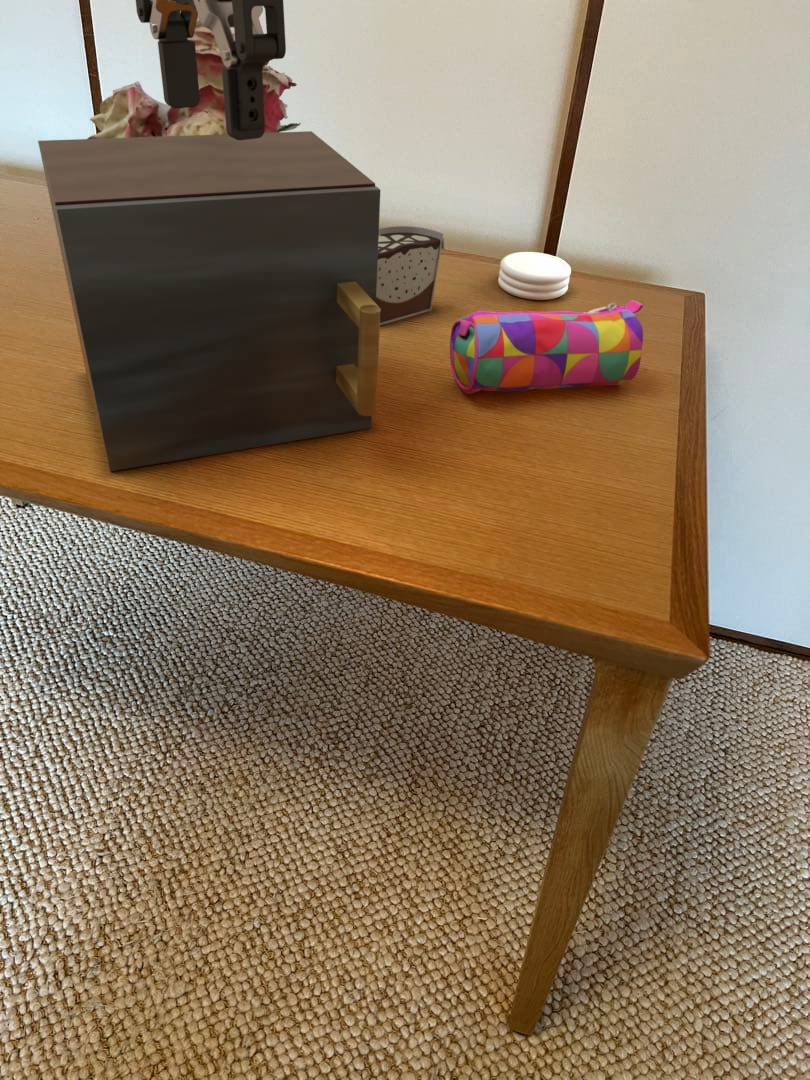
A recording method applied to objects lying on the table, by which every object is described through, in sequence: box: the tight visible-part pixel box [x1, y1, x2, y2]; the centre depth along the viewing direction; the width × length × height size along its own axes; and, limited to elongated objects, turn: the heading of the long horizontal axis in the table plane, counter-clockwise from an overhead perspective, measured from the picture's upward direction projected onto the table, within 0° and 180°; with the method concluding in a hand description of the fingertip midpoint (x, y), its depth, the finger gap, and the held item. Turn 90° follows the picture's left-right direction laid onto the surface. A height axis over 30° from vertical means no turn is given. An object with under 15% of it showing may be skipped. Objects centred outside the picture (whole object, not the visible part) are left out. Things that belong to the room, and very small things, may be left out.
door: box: [56, 185, 381, 472], centre depth 70 cm, size 8×26×24 cm, turn 113°
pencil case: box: [449, 299, 644, 395], centre depth 92 cm, size 22×9×9 cm, turn 107°
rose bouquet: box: [86, 15, 302, 139], centre depth 108 cm, size 26×29×30 cm
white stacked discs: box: [497, 251, 572, 301], centre depth 116 cm, size 10×10×4 cm
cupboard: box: [37, 130, 376, 462], centre depth 80 cm, size 18×26×24 cm
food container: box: [376, 225, 446, 326], centre depth 105 cm, size 12×6×10 cm, turn 130°
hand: (213, 121), depth 51 cm, fingers open, 8 cm apart
